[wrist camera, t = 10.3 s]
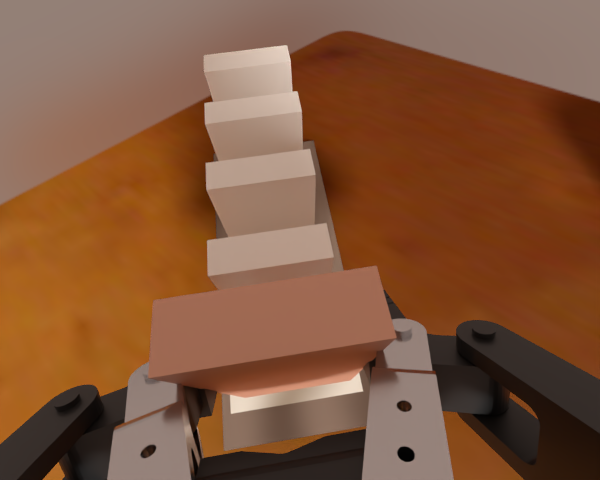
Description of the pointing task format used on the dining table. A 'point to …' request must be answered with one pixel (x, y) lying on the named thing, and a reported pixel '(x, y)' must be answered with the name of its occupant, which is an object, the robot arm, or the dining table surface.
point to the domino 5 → (272, 334)
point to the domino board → (301, 402)
